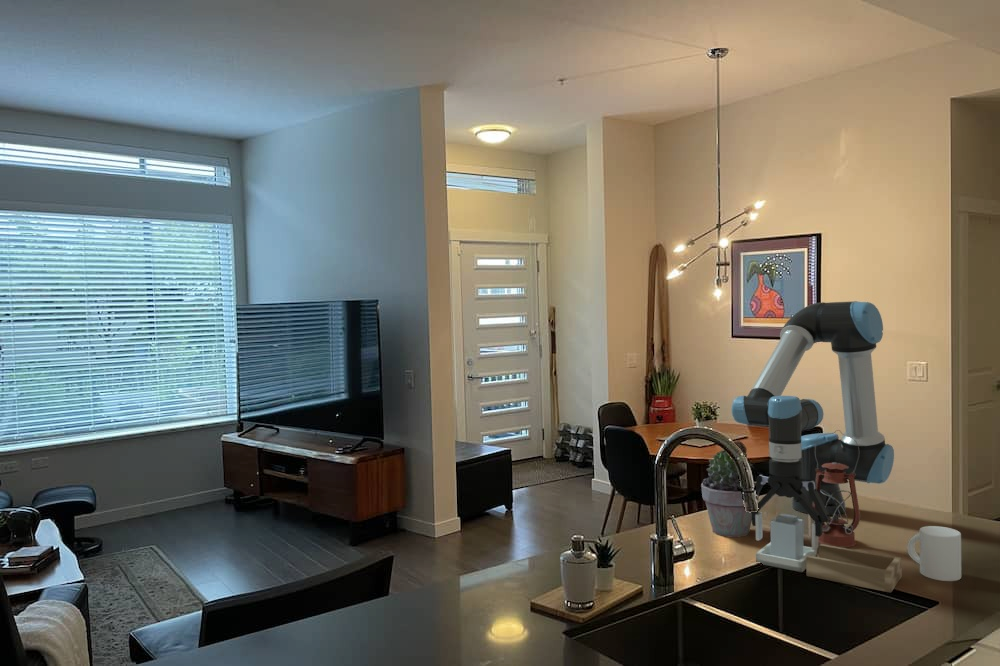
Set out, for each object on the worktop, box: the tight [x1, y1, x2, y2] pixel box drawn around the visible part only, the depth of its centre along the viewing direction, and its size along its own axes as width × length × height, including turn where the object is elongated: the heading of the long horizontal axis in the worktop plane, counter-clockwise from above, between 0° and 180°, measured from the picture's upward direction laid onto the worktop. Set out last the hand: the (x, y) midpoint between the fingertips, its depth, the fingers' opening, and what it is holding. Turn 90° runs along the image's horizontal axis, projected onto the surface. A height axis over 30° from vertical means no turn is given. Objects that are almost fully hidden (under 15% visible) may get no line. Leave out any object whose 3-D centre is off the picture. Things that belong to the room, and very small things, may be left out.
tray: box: [755, 541, 818, 573], centre depth 183 cm, size 12×11×2 cm
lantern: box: [813, 429, 861, 548], centre depth 196 cm, size 10×10×30 cm
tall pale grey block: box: [770, 513, 805, 560], centre depth 183 cm, size 6×6×10 cm
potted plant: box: [697, 440, 760, 538], centre depth 206 cm, size 18×20×25 cm
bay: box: [805, 543, 902, 593], centre depth 171 cm, size 11×18×4 cm, turn 51°
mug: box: [906, 525, 962, 582], centre depth 172 cm, size 8×10×12 cm
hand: (786, 544), depth 183 cm, fingers open, 13 cm apart
